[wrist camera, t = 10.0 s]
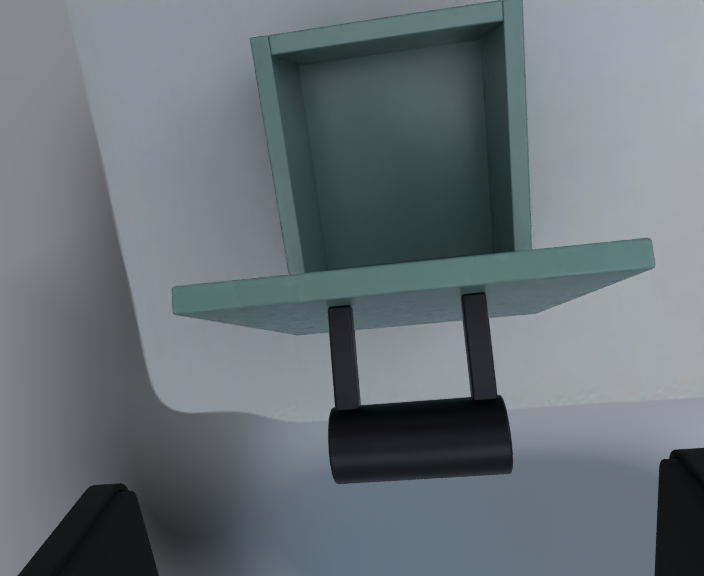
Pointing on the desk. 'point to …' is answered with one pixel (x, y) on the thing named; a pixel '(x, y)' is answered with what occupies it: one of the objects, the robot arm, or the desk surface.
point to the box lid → (410, 309)
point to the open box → (399, 137)
